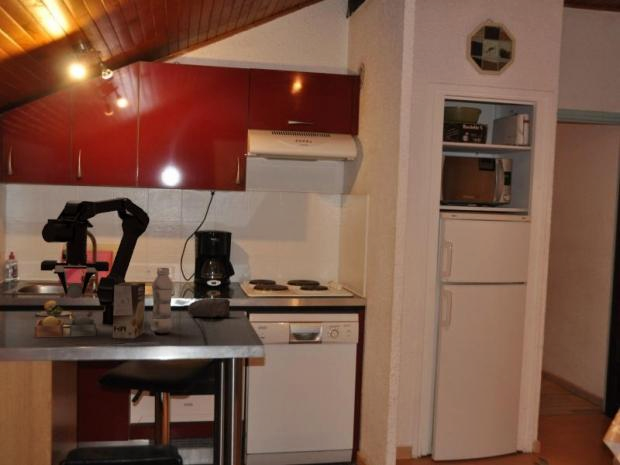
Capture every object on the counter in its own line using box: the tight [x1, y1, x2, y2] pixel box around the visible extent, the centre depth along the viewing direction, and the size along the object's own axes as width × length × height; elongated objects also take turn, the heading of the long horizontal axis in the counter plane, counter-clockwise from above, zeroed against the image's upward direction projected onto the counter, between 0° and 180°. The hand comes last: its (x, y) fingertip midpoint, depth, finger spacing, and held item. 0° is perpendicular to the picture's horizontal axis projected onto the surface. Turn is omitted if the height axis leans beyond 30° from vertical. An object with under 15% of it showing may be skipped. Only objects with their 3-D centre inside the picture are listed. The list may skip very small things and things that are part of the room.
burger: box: [34, 300, 73, 318], centre depth 202 cm, size 12×12×8 cm
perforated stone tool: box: [187, 298, 231, 319], centre depth 212 cm, size 15×5×7 cm, turn 92°
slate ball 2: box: [75, 315, 91, 325], centre depth 175 cm, size 4×4×4 cm
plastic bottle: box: [150, 267, 174, 335], centre depth 179 cm, size 6×7×20 cm
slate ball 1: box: [67, 283, 83, 299], centre depth 175 cm, size 4×4×4 cm
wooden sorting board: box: [34, 317, 97, 338], centre depth 174 cm, size 16×20×4 cm
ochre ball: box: [42, 316, 58, 326], centre depth 172 cm, size 4×4×4 cm
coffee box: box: [112, 281, 146, 339], centre depth 170 cm, size 9×6×16 cm
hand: (74, 294), depth 175 cm, fingers closed on slate ball 1, 4 cm apart
